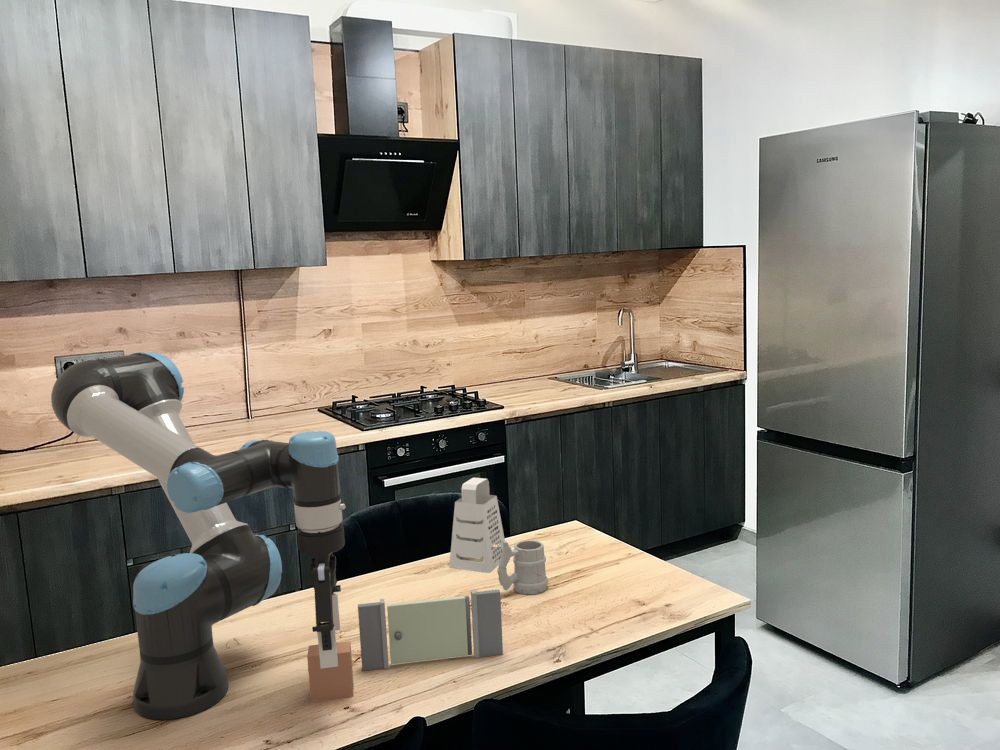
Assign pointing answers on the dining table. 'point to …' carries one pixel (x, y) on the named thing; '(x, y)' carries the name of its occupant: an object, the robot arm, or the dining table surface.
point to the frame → (483, 624)
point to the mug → (524, 567)
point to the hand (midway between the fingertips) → (331, 647)
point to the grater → (476, 528)
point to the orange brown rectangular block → (330, 674)
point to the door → (429, 629)
